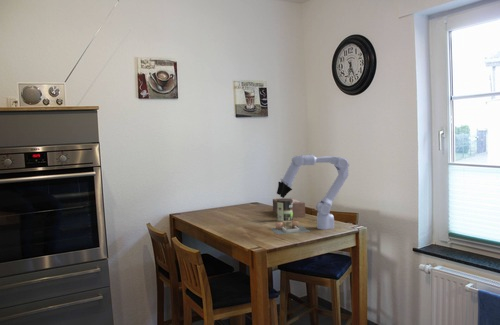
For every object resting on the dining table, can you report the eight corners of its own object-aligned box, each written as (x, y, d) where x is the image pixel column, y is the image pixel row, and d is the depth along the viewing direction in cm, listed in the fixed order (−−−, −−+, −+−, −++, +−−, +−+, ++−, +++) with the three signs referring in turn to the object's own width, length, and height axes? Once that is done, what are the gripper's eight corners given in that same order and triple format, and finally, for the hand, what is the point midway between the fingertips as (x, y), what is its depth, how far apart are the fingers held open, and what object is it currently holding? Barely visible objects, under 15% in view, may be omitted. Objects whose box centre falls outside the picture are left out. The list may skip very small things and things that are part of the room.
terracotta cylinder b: (281, 227, 231) (281, 221, 231) (283, 229, 227) (283, 223, 227) (275, 228, 230) (274, 222, 230) (277, 229, 227) (276, 223, 226)
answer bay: (295, 228, 229) (295, 225, 228) (299, 231, 221) (299, 228, 221) (281, 229, 227) (281, 227, 227) (285, 232, 219) (285, 229, 219)
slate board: (301, 227, 236) (301, 225, 236) (311, 233, 220) (311, 231, 220) (269, 229, 231) (269, 228, 231) (277, 236, 216) (277, 234, 216)
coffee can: (294, 219, 257) (294, 198, 256) (290, 223, 248) (290, 201, 247) (279, 219, 261) (279, 198, 260) (275, 222, 251) (274, 200, 250)
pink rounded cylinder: (297, 226, 233) (297, 220, 233) (299, 227, 230) (299, 222, 229) (291, 227, 233) (291, 221, 232) (293, 228, 229) (293, 222, 228)
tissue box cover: (305, 217, 266) (304, 202, 265) (285, 219, 262) (285, 204, 261) (291, 210, 290) (291, 197, 290) (273, 212, 287) (272, 198, 286)
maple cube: (289, 227, 232) (289, 220, 232) (291, 228, 228) (291, 221, 228) (283, 227, 232) (283, 221, 231) (285, 229, 228) (285, 222, 227)
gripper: (281, 169, 231) (270, 190, 232) (288, 173, 217) (277, 195, 218) (291, 174, 233) (281, 195, 233) (299, 179, 219) (288, 200, 219)
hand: (280, 195), depth 226 cm, fingers open, 7 cm apart
